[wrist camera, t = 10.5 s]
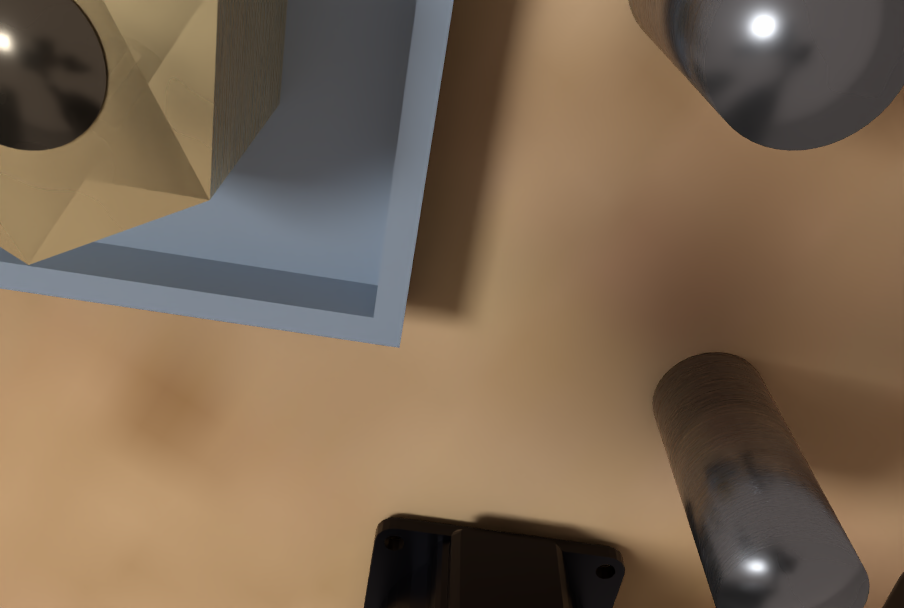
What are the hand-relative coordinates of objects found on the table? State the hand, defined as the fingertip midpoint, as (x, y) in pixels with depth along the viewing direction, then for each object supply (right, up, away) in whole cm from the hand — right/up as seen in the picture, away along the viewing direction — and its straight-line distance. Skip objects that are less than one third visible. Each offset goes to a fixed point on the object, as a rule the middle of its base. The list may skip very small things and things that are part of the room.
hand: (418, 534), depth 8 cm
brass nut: (-5, +8, +8) cm, 12 cm away
